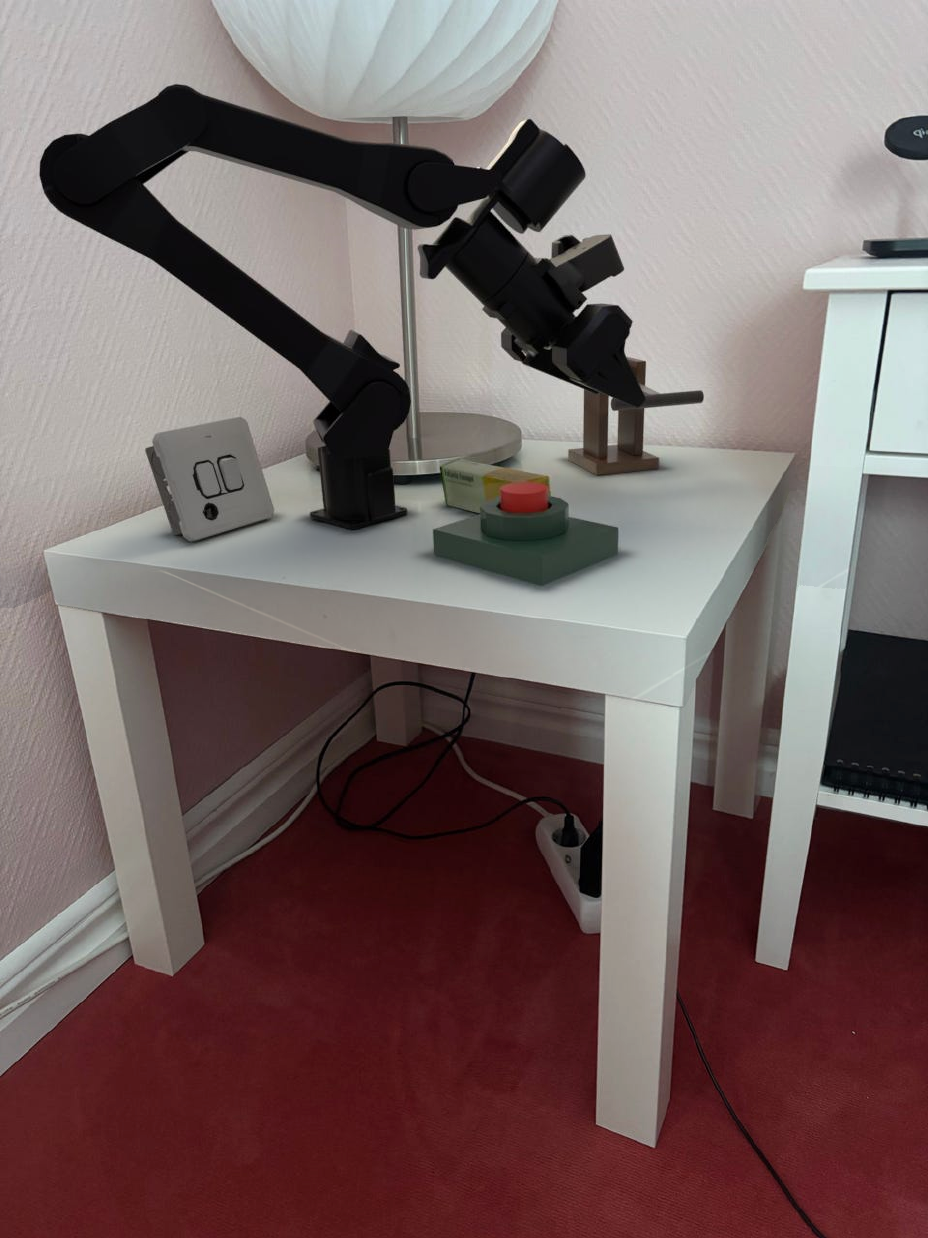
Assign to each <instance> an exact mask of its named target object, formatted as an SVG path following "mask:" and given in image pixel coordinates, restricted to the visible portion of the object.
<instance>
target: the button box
mask: <svg viewBox="0 0 928 1238" xmlns="http://www.w3.org/2000/svg"><path fill="white" fill-rule="evenodd" d="M619 531H620V530H619V526H615V525H610V524H604V523H600V522H595V521H591V520H586V519H581V518H576V517H571V516H570V505H569V503H568V502H567V501H566V500H564V499H562V498H561V497H558V496H552V495H551V496H548V509H547V510H544V511H539V512H530V513H513V512H506V511H502V510H501V508H500V497H497V498H494V499H491V500H487V501H485V502H484V503H483V504H482V506H481V507H480V513H478V514H477V515H474V516H469V517H466V518H463V519H461V520H458V521H454V522H451V523H448V524H445V525H442V526H438V527H436V528H433V529H432V541H433V542H432V543H433V555H434V556H435V557H438V558H442V559H445V560H449V561H452V562H456V563H459V564H463V565H466V566H469V567H473V568H477V569H481V570H483V571H486V572H491V573H494V574H497V575H500V576H501V575H502V576H505V577H508V578H512V579H515V580H519V581H521V582H526V583H529V584H533V585H536V586H540V587H543V586H545V585H548V584H550V583H553V582H555V581H557V580H560V579H562V578H565V577H567V576H569V575H571V574H574V573H576V572H577V573H578V572H579V571H582V570H584V569H587V568H588V567H591V566H593V565H595V564H598V563H601V562H603V561H605V560H607V559H610V558H613V557H615V556H617V555H619Z"/></svg>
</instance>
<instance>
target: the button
mask: <svg viewBox="0 0 928 1238" xmlns="http://www.w3.org/2000/svg"><path fill="white" fill-rule="evenodd" d="M500 508H501V510H502V511H506V512H513V513H530V512H539V511H544V510H547V509H548V486H547V485H545V484H542V483H537V482H515V483H509V484H506V485H503V486H501V488H500Z"/></svg>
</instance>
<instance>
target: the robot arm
mask: <svg viewBox="0 0 928 1238" xmlns="http://www.w3.org/2000/svg"><path fill="white" fill-rule="evenodd" d="M189 152H196V153H199V154H200V153H201V154H203V155H207V156H210V157H213V158H218V159H221V160H224V161H227V162H231V163H235V164H238V165H241V166H244V167H248V168H251V169H255V170H257V171H261V172H265V173H269V174H272V175H275V176H279V177H282V178H285V179H290V180H293V181H296V182H299V183H303V184H306V185H310V186H313V187H316V188H319V189H324V190H327V191H330V192H334V193H336V194H338V195H339V196H342V197H344V198H346V199H348V200H350V201H351V202H353V203H355V204H356V205H358V206H360V207H361V208H363V209H365V210H367V211H369V212H370V213H372V214H373V215H376V216H379V217H380V218H382V219H384V220H386V221H388V222H391V223H393V224H394V225H396V226H399V227H400V228H403V229H405V230H406V229H407V230H414V231H415V230H423V229H430V228H436V227H439V226H441V225H443V224H444V223H446V222H447V221H449V220H451V218H452V217H453V215H454V214H455V213H456V212H457V210H458V208H459V206H462V205H465V204H469V203H472V202H476V201H480V200H481V201H480V202H479V204H478V205H477V206H476V207H475V208H474V210H473V211H471V213H470V214H469V215H468V217H466V219H462V218H461V217H458V216H457V217H455V216H454V217H453V218H452V220H451V221H450V222H449V224H448V225H447V226H446V227H444V229H443V230H442V232H441V233H440V235H438V237H437V238H436V239H435V241H433V243H432V244H429V243H420V244H418V246H417V251H418V254H419V276H420V278H422V279H426V280H435V279H437V277H438V276H439V275H440V274H441V272H443V270H444V268H446V270H448V271H449V272H450V273H451V274H452V275H453V276H454V277H455V278H456V279H457V280H458V281H459V282H460V283H461V284H462V285H463V287H465V289H467V290H468V291H469V292H470V294H472V295H473V297H474V298H476V299H477V300H478V301H479V302H480V303H481V304H482V305H483V306H482V308H481V310H482V311H483V312H484V313H485V314H486V315H487V316H488V317H489V318H492V319H497V320H498V321H499V322H500V323H501V324H502V325H503V327H504V328H503V330H502V331H501V332H500V346H501V348H502V350H503V351H505V352H506V353H507V354H508V356H509V357H511V358H512V359H513V360H514V361H516V362H517V361H518V362H521V364H522V365H524V366H527V367H529V368H532V369H534V370H536V371H539V372H541V373H542V374H543V373H544V374H546V375H548V376H551V377H553V378H556V379H559V380H560V381H563V382H566V383H568V384H570V385H573V386H575V387H578V388H581V389H582V390H584V389H585V390H587V391H590V392H592V393H595V394H598V393H599V392H601V393H603V394H605V395H608V396H609V398H611V399H612V398H615V399H617V400H619V401H622V402H624V403H626V404H629V405H631V406H633V407H636V408H639V407H640V406H641V405H642V404H643V403H644V402H645V400H646V397H645V395H644V393H643V391H642V389H641V387H640V385H639V383H638V381H637V379H636V377H635V375H634V373H633V371H632V369H631V366H630V364H629V362H628V360H627V357H628V356H627V354H626V351H625V349H626V341H627V339H628V338H629V337H630V334H631V328H632V326H633V322H634V321H633V320H632V318H631V317H630V316H629V315H628V314H627V313H626V312H625V311H624V310H623V309H622V307H620V305H618V304H611V303H587V304H586V305H585V306H584V307H583V309H581V310H580V312H579V313H578V315H576V314H574V313H575V312H576V311H577V310H578V311H579V309H580V308H581V307H582V306H583V305H584V303H585V302H586V301H587V300H588V298H587V296H586V295H585V293H584V292H587V291H588V290H590V289H592V288H594V287H595V286H597V285H598V284H600V283H603V282H604V281H606V280H608V279H609V278H611V277H612V278H613V277H614V278H615V277H617V276H618V275H620V274H622V273H623V272H624V271H625V267H624V264H623V261H622V259H621V256H620V254H619V251H618V249H617V246H616V243H615V241H614V238H613V235H612V234H610V233H609V234H607V233H606V234H595V235H592V236H589V237H584V238H583V239H582V241H580V240H579V239H578V238H577V237H575V236H574V234H564V235H562V236H560V237H559V238H557V239H555V240H553V241H552V242H551V257H549V258H547V257H534V256H533V255H532V253H531V252H529V250H528V249H527V248H526V247H525V246H524V245H523V244H522V243H521V242H520V241H519V240H518V239H517V238H516V237H515V236H514V234H513V233H512V232H511V231H510V230H509V229H508V228H507V227H506V226H505V225H504V224H503V223H502V222H504V223H505V224H506V225H507V226H508V227H509V228H511V229H512V231H515V232H516V233H518V234H521V235H524V234H525V232H527V230H528V229H529V230H531V231H533V232H536V233H541V232H542V231H543V230H544V228H545V227H546V226H547V224H548V223H549V222H550V221H551V220H552V219H553V218H554V216H555V215H556V214H557V213H558V211H559V210H560V209H561V208H562V207H563V205H564V204H565V203H566V202H567V201H568V200H569V198H570V197H571V196H572V194H573V193H574V192H575V191H576V190H577V188H578V187H579V186H580V185H581V184H582V183H583V181H584V180H585V179H586V169H585V167H584V166H583V164H582V162H581V160H580V159H579V157H578V156H577V155H576V153H575V151H573V149H572V148H571V147H570V146H569V145H568V144H567V143H562V142H561V141H560V139H557V138H556V137H555V136H554V135H553V134H552V133H549V132H548V131H546V130H544V129H542V128H539V126H538V125H537V124H536V123H535V122H534V121H533V119H531V118H528V119H524V120H523V121H520V122H519V124H518V125H517V126H516V127H515V129H514V130H513V131H512V132H511V134H510V136H509V139H508V140H507V142H506V143H505V145H504V146H503V147H502V148H501V149H500V151H499V152H498V153H497V155H496V156H495V157H494V158H493V160H492V161H491V162H490V163H489V164H488V166H487V167H486V168H483V167H482V166H477V167H474V166H473V167H472V166H467V165H459V164H458V165H457V164H455V163H454V160H453V159H452V157H450V156H449V155H448V154H447V153H446V152H444V151H441V150H440V149H438V148H435V147H431V146H423V145H415V144H406V143H397V142H379V141H359V140H354V139H353V140H352V139H347V138H344V137H340V136H337V135H334V134H331V133H328V132H325V131H322V130H318V129H315V128H311V127H309V126H306V125H302V124H299V123H296V122H293V121H289V120H286V119H283V118H280V117H277V116H273V115H270V114H266V113H264V112H261V111H257V110H255V109H251V108H247V107H245V106H241V105H239V104H235V103H232V102H228V101H225V100H222V99H219V98H216V97H214V96H213V97H212V96H209V95H206V94H203V93H201V92H200V91H197V90H196V89H195V88H193V87H191V86H189V85H187V84H180V83H179V84H178V83H175V84H172V85H167V86H165V87H164V88H163V89H162V90H161V91H159V92H158V94H157V95H156V96H155V97H153V98H152V99H150V100H148V101H147V102H145V103H144V104H142V105H139V106H137V107H136V108H134V109H132V110H130V111H128V112H126V113H125V114H123V115H121V116H119V117H117V118H115V119H113V120H112V121H110V122H108V123H106V124H104V125H103V126H102V127H100V128H98V129H97V130H95V131H94V132H93V133H91V134H86V133H70V134H62V135H61V136H59V137H57V138H55V139H53V140H52V141H51V142H50V143H49V145H47V146H46V148H45V149H44V150H43V153H42V155H41V158H40V160H39V172H38V173H39V179H40V180H39V181H40V184H41V187H42V190H43V193H44V195H45V197H46V199H47V200H48V201H49V203H50V204H51V206H53V207H54V208H55V209H56V210H57V211H58V212H59V213H61V214H63V215H65V216H66V217H68V218H70V219H71V220H73V221H76V222H78V223H79V224H81V225H83V226H85V227H86V228H89V229H90V230H92V231H94V232H96V233H99V234H100V235H102V236H104V237H106V238H108V239H110V240H112V241H114V242H115V243H118V244H120V245H122V246H124V247H126V248H128V249H130V250H132V251H134V252H136V253H138V254H140V255H142V256H144V257H145V258H147V259H149V260H151V261H153V263H155V264H156V265H158V266H160V267H161V268H162V269H164V270H166V272H168V273H169V274H170V275H172V276H173V277H174V278H176V279H177V280H179V281H180V282H181V283H183V284H184V286H186V287H187V288H189V289H191V290H192V291H194V292H195V293H196V294H197V295H199V296H200V297H202V298H203V299H204V300H206V301H207V302H208V303H210V305H212V306H213V307H215V308H216V309H217V310H219V311H220V312H221V313H223V314H224V315H226V316H227V317H228V318H230V319H231V320H233V321H234V322H235V323H237V324H238V325H239V326H240V327H242V328H243V329H244V330H246V331H247V332H248V333H250V334H251V335H253V336H254V337H256V339H258V340H259V341H260V342H262V343H263V344H265V345H266V346H267V347H269V348H270V349H272V350H273V351H274V352H276V353H277V354H278V355H280V356H281V357H283V359H285V360H286V361H288V362H289V363H290V364H292V365H293V366H295V367H296V368H297V369H299V370H300V372H301V373H302V374H304V375H305V377H306V378H307V379H308V380H309V381H310V382H311V383H312V384H313V385H314V387H316V389H317V390H319V392H320V393H321V394H322V395H323V396H324V397H325V398H326V399H327V401H328V403H327V404H326V405H325V406H324V408H322V409H321V410H320V412H319V413H318V414H317V416H316V417H315V418H314V419H313V422H312V423H313V426H314V428H315V430H316V432H317V435H318V437H319V438H320V441H321V442H322V443H323V444H324V445H323V446H318V447H317V456H318V457H317V458H318V465H319V475H320V477H319V478H320V485H321V496H322V505H323V508H320V509H317V510H312V511H310V512H309V517H310V519H313V520H317V521H321V522H324V523H327V524H331V525H334V526H339V527H343V528H346V529H349V530H357V529H360V528H361V529H362V528H363V527H368V526H371V525H374V524H378V523H381V522H384V521H388V520H391V519H395V518H398V517H402V516H405V515H407V514H408V508H407V507H405V506H400V505H396V493H395V478H394V469H393V468H392V462H391V460H392V459H391V449H390V445H391V443H392V438H393V436H394V432H395V431H396V430H398V429H399V428H400V427H401V426H402V425H403V424H404V423H405V422H406V419H407V417H408V416H409V414H410V410H411V404H412V398H411V391H410V387H409V385H408V383H407V381H406V380H405V379H404V378H403V377H402V375H400V374H399V372H397V371H395V370H398V369H399V368H400V367H401V364H400V363H399V362H397V361H396V360H393V359H392V358H390V357H388V356H386V355H384V354H382V353H381V354H380V353H379V352H378V351H377V350H376V349H375V347H374V346H372V344H371V343H370V342H369V341H368V340H367V339H366V337H364V336H363V335H362V334H360V333H358V332H356V331H355V330H353V329H349V330H348V332H347V334H346V337H345V339H344V341H343V342H342V341H341V340H338V339H337V338H335V337H332V336H331V335H329V334H327V333H325V332H323V331H321V329H319V328H318V327H316V326H315V325H314V324H312V323H311V322H310V321H309V320H307V319H306V318H305V317H303V316H302V315H301V314H300V313H298V312H297V311H296V310H294V309H293V308H292V307H290V306H289V305H288V304H286V303H285V302H284V301H283V300H281V298H279V297H277V296H276V295H275V294H274V293H272V292H271V291H270V290H269V289H267V288H266V287H264V286H263V285H262V284H261V283H259V282H258V281H257V280H256V279H254V278H253V277H251V276H250V275H249V274H248V273H246V272H245V271H244V270H243V269H241V268H240V267H238V266H237V265H236V264H234V263H233V262H232V261H230V260H229V259H228V258H227V257H226V256H225V255H223V254H222V253H221V252H219V251H218V250H217V249H215V248H214V247H213V246H211V245H210V244H209V243H207V242H206V240H204V239H202V238H201V237H200V236H198V235H197V234H195V232H194V231H192V230H190V229H189V228H188V227H187V226H185V225H184V224H183V223H182V222H180V221H179V220H178V219H177V218H176V217H175V216H174V215H173V214H172V213H171V212H170V210H168V209H167V208H166V207H165V205H163V203H162V202H161V201H160V200H159V199H158V198H157V197H156V196H155V195H154V194H153V192H151V191H150V190H149V189H148V187H147V186H145V184H146V183H148V182H149V181H150V180H151V179H152V180H153V178H155V177H156V176H157V175H158V174H160V173H161V172H163V171H164V170H165V169H167V168H168V167H169V166H171V165H172V164H173V163H175V162H176V161H177V160H179V159H180V158H182V157H183V156H184V155H186V154H188V153H189ZM492 211H494V212H495V214H496V215H497V216H498V217H499V218H500V219H501V220H502V221H500V219H499V218H497V217H496V215H495V214H494V213H493V212H492Z"/></svg>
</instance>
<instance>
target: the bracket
mask: <svg viewBox="0 0 928 1238" xmlns="http://www.w3.org/2000/svg"><path fill="white" fill-rule="evenodd" d="M626 357H627V360H628V362H629V364H630V366H631V369H632V371H633V373H634V375H635V377H636V379H637V381H638V383H640V384H642V385H644V386H646V375H647V374H646V373H647V361H646V360H643V359H639V358H635V357H630V356H626ZM609 401H610V396H608V395H605V394H603V393H601V392H599V393H598V394H595V393H592V392H590V391H587V390H585V389H583V420H582V421H583V427H582V428H583V432H582V435H583V436H582V439H583V440H582V447H579V448H578V447H577V448H568V449H567V456H568V457H567V459H568V461H569V462H571V463H573V464H574V465H577V466H579V467H581V468H583V469H584V470H586V471H587V472H589V473H591V474H593V475H595V476H606V475H615V474H624V473H634V472H643V471H652V470H659V468H660V457H658V456H657V455H654V454H652V453H649V452H647V451H645V450H644V432H645V431H644V429H645V427H644V426H645V408H641V409H630V410H619V411H617V441H616V442H617V443H616V444H610V445H609V407H610V406H609V404H610V402H609Z"/></svg>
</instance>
